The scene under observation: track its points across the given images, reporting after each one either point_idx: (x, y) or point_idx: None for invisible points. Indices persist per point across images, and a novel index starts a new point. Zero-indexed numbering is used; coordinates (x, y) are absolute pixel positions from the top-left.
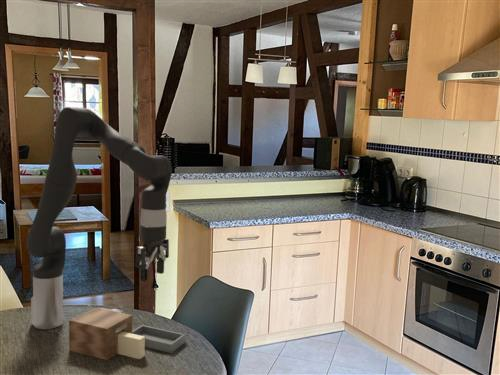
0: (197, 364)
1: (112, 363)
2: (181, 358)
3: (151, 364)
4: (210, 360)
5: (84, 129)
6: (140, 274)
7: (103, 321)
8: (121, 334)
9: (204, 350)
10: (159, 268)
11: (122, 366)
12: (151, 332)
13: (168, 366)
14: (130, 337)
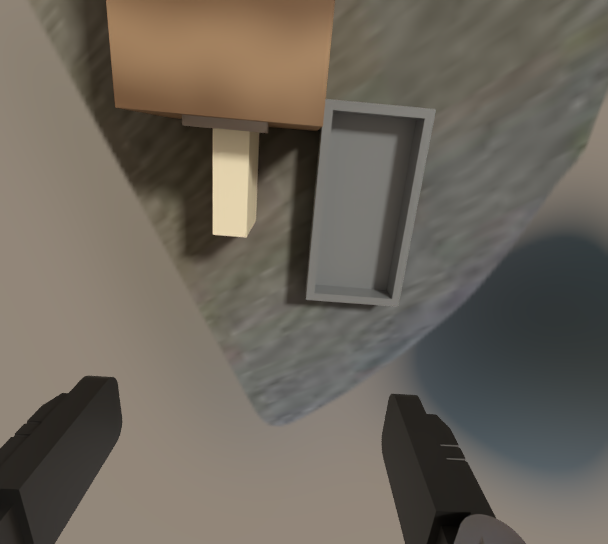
0: (272, 376)
1: (163, 150)
2: (286, 327)
3: (216, 267)
4: (306, 395)
5: None
6: (14, 437)
7: (180, 24)
8: (221, 136)
9: (358, 362)
10: (400, 457)
11: (163, 193)
12: (410, 164)
13: (227, 315)
14: (213, 189)
